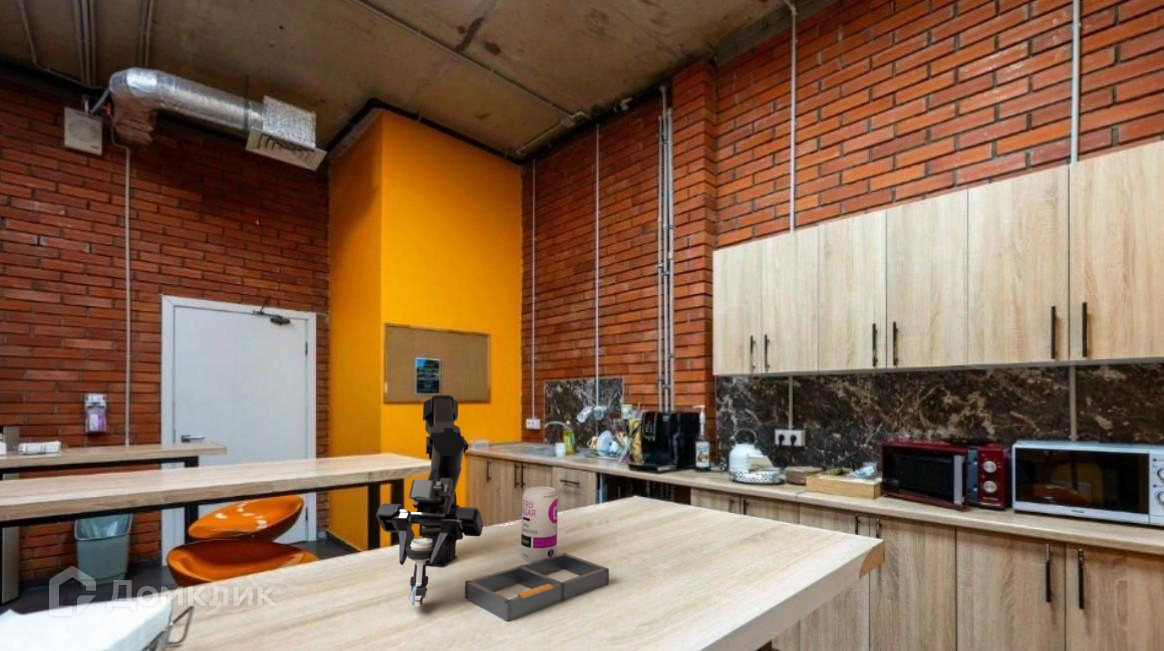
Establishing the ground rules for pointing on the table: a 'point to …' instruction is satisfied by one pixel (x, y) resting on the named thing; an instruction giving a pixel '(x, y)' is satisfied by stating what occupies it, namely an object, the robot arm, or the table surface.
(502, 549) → the table surface
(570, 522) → the table surface
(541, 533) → the supplement can
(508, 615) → the grey divided tray
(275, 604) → the table surface
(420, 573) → the push button
